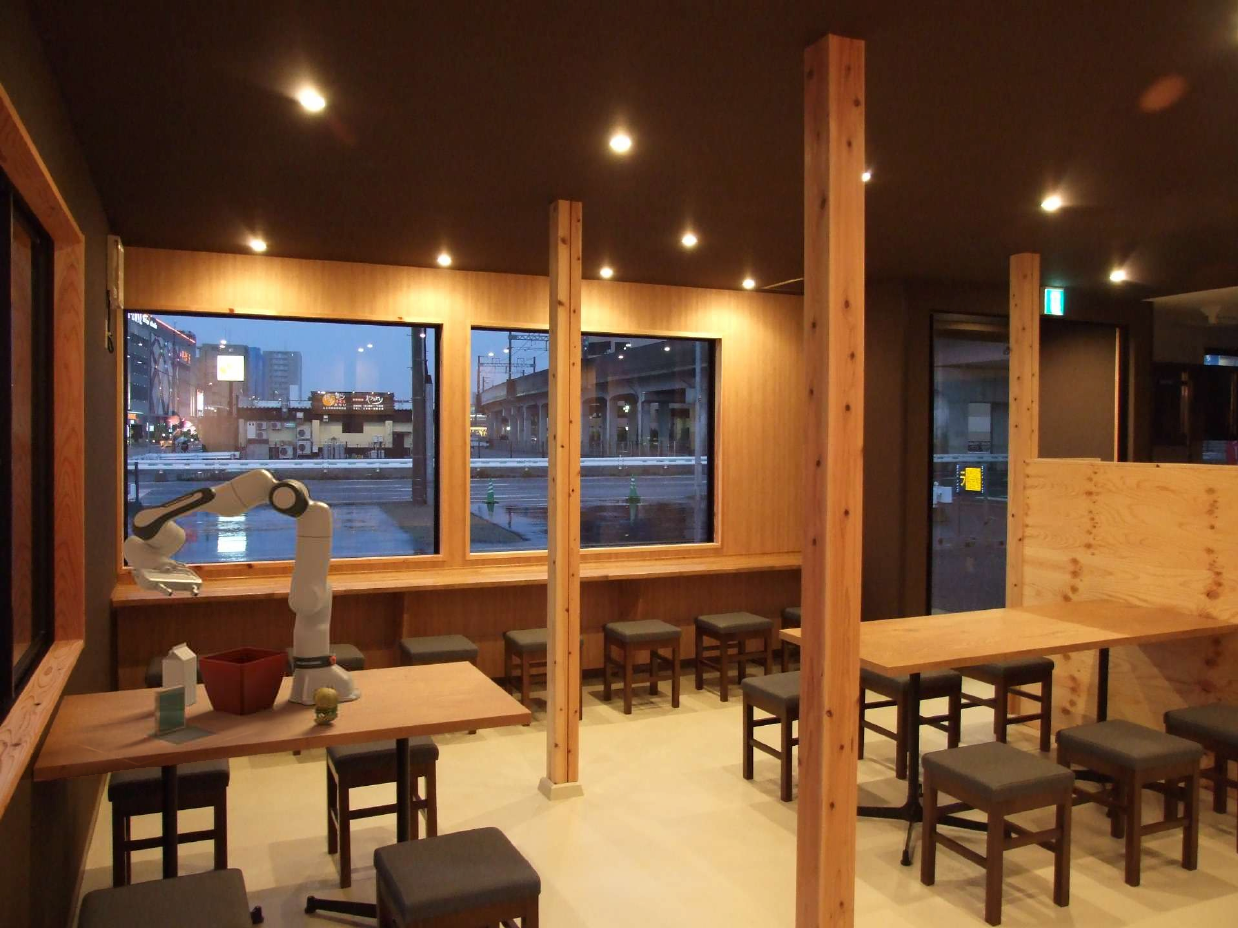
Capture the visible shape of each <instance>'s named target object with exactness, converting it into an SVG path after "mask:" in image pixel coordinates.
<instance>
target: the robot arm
mask: <svg viewBox="0 0 1238 928" xmlns="http://www.w3.org/2000/svg"><path fill="white" fill-rule="evenodd" d="M264 503H269V506H270V507H271V508H272V509H273V510H274V511H275V512H276V513H279V514H281V515H285V516H288V517H290V518H293V519H295V521H296V537H295V540H296V541H295V555H294V565H293V568H292V574H291V581H290V588H289V594H288V605H289V607H290V609H291V610H292V611H293V612H294V613H296V616H295V623H294V628H293V655H292V659H291V671H292V683H291V689H290V693H289V696H288V700H289V702H293V703H298V704H303V705H304V706H305V705H306V706H310V705H316V704H315V703H314V701H313V694H314V693H315V692H316V691H317V690H318V689H320V688H325V687H328V686H329V685H330V688H331V689H334V690H335V691H337V693H338V694H339V703H340V702H349V701H355V700H357V699H359V698H360V697H361V695H362V688H360V687H358V686H355V683H354V682H355V681H354V678H353V676H352V674H351V673H350V672H349V671H348V670H345V669H344V668H343V667H341V666H339V665H338V664H336V663H337V656H336V655H337V654H336V653H332V652H330V627H331V626H330V625H331V616H332V605H333V592H334V591H333V586H332V585H333V584H332V583H331V581H330V580H329V579H328V575H329V569H330V566H331V565H330V564H331V560H332V544H333V541H332V540H333V519H332V518H333V517H332V514H331V513H332V511H331V507H329V505H328V504H326V503H324V502H322V501H317V500H312V499H311V493H310V490H309V488H308V486H307V485H306V484H305V482H302V481H301V480H297V479H291V478H290V479H278V480H276V479H275V477H273V475H272V474H271V473H270V472H269V471H268V470H266V469H263V468H257V469H253V470H250V471H248V472H246V473H242V474H241V475H239V476H237V477H234V478H233V479H231V480H229V481H227V482H225V483H223V484H219V485H215V486H210V487H209V486H208V487H201V488H199V489H196V490H193V491H190V492H187V493H185V494H182V495H181V496H178V497H175V498H173V499H171V500H167V501H166V502H164V503H160V504H158V505H154V506H149V507H146V508H142V509H141V510H140V511H138V512H137V513H136V514H135V515H134V517H133V518H132V521H131V525H130V526H131V533H132V536H129V537H128V538H126V540H124V542H123V544H122V547H121V552H122V556H123V558H124V559H125V560H126V562H127V563H128V564H129V565H130V567H131V568H133V569H132V570H131V571H130V574H131V575H132V576H133V577H134V581H135V582H136V584H137V585H138V587H140V588H141V589H142V590H144V591H156V592H158V593H160V594H162V595H164V596H165V597H171V596H172V594H173V593H174V592H189V595H190V596H191V597H193V598H197V597H199V595H200V589H201V588H202V585H203V580H202V578H201V577H199V576H198V574H197V573H195V571H193V570H192V569H189V565H188V564H186V563H184V562H181V561H177V560H174V559H172V557H173V556H175V555H176V554H177V553H179V551H181V549H183V547H185V544H186V539H187V534H186V531H185V530H184V529H183V528H181V527H180V526H179V525H178V524H177V523H175V522H174V521H175V520H177V519H181V518H182V517H184V516H187V515H188V514H191V513H193V512H194V513H195V512H207V513H212V514H216V515H217V516H220V517H225V518H234V517H238V516H241V515H243V514H245V513H247V512H248V511H250V510H252V509H254V508H255V507H257V506H260V505H261V504H264Z"/></svg>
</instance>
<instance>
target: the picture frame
mask: <svg viewBox="0 0 1238 928" xmlns="http://www.w3.org/2000/svg"><path fill="white" fill-rule="evenodd" d="M153 693H154V698H153V699H154V732H155V734H158V735H159V734H163V733H167V732H170V731H174V730H178V729H182V728H185V724H186V707H185V686H182V685H180V686H176V687H171V688H167V689H163V688H161V689H159V690H155V691H153Z"/></svg>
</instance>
